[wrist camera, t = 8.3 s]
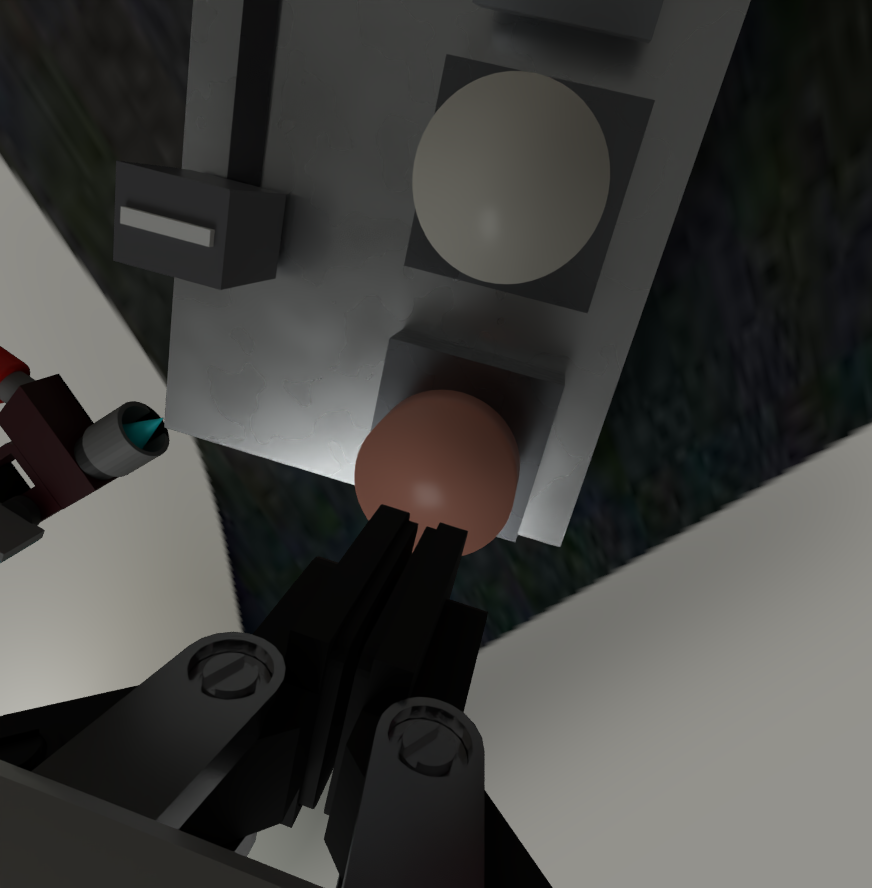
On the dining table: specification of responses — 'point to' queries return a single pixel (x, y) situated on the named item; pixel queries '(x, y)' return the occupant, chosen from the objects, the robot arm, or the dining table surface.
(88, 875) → the robot arm
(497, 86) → the button cream
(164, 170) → the slider knob
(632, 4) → the plate
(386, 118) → the console
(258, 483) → the dining table surface
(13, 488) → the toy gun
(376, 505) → the button terracotta
